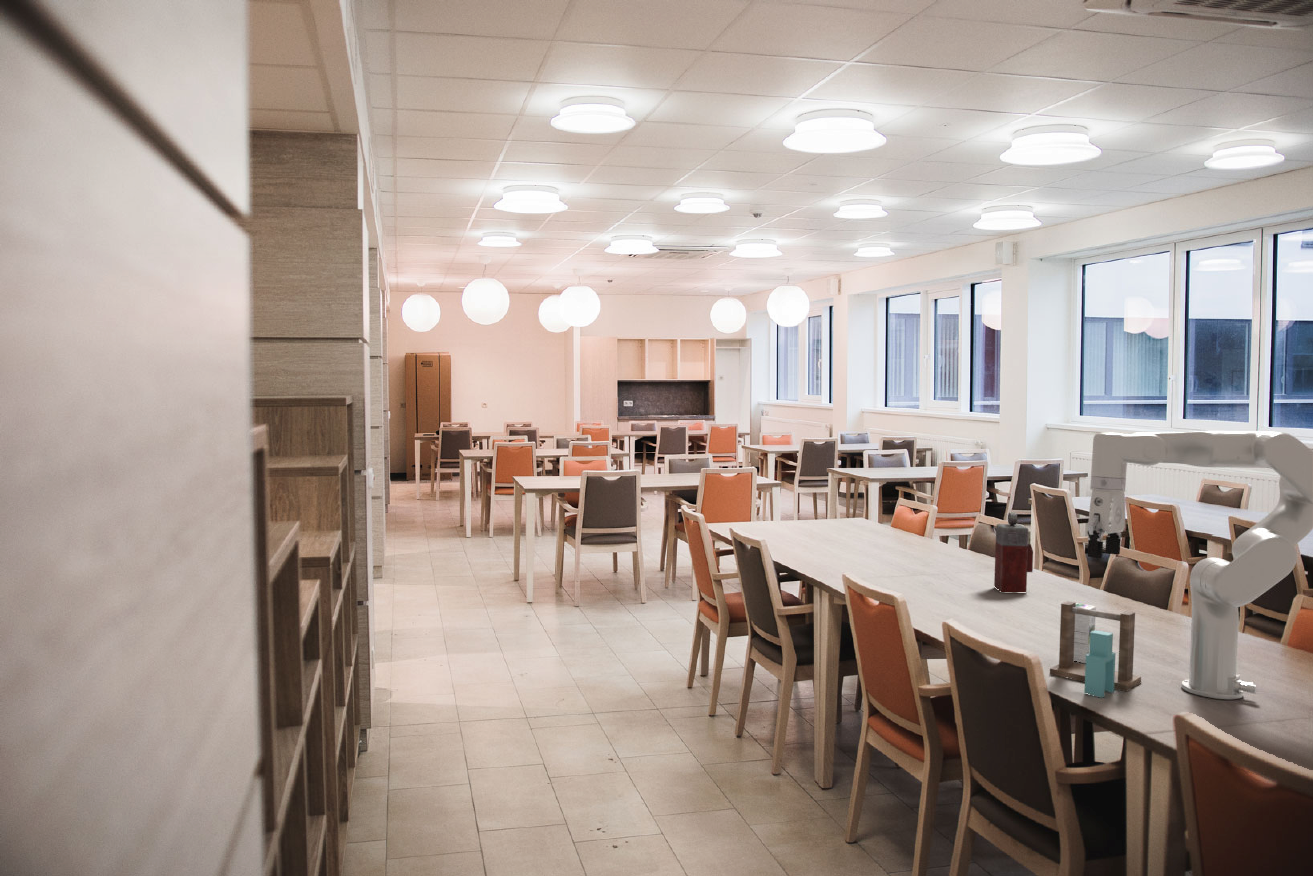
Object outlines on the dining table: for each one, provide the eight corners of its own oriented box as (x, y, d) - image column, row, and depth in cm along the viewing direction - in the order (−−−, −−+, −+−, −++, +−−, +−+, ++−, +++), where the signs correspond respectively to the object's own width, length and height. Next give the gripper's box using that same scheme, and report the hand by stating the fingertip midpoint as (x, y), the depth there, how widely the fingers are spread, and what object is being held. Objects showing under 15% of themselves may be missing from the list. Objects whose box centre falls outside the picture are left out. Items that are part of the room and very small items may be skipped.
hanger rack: (1140, 682, 228) (1143, 611, 228) (1126, 691, 221) (1129, 617, 221) (1065, 666, 241) (1068, 599, 240) (1049, 674, 234) (1052, 604, 233)
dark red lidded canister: (1033, 594, 331) (1036, 514, 329) (1000, 592, 332) (1003, 513, 331) (1025, 588, 340) (1028, 511, 338) (993, 587, 341) (996, 510, 339)
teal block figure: (1113, 691, 221) (1116, 631, 220) (1102, 698, 216) (1104, 637, 215) (1096, 687, 224) (1098, 628, 223) (1084, 694, 219) (1086, 633, 218)
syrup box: (1070, 655, 252) (1072, 602, 251) (1094, 660, 248) (1096, 605, 247) (1064, 660, 247) (1066, 605, 246) (1088, 664, 243) (1090, 609, 243)
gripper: (1108, 487, 216) (1104, 561, 216) (1139, 484, 227) (1134, 555, 228) (1075, 484, 221) (1071, 556, 222) (1107, 481, 233) (1103, 550, 233)
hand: (1103, 555), depth 225 cm, fingers open, 9 cm apart
